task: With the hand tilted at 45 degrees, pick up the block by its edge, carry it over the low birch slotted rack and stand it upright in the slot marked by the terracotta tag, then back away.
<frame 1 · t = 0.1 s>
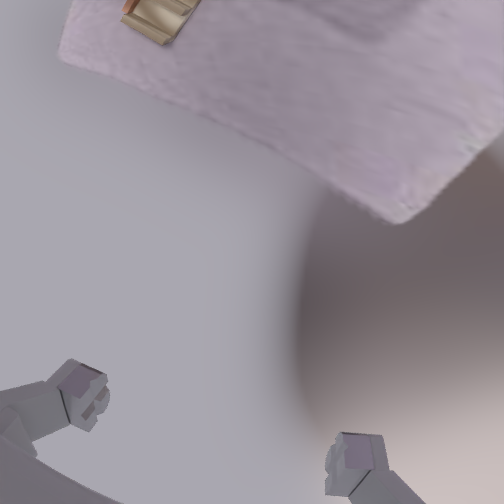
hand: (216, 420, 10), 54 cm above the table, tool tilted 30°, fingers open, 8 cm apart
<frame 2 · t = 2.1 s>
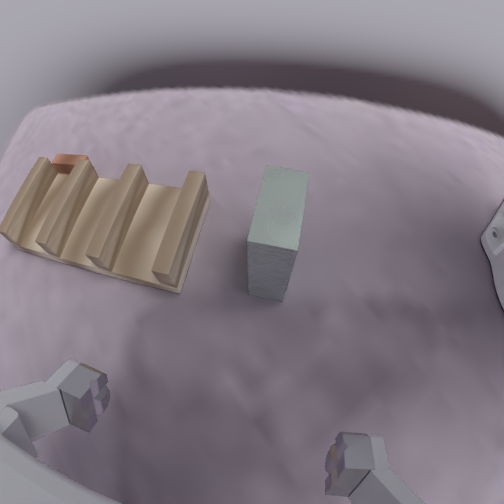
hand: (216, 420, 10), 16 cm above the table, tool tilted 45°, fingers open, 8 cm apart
block: (272, 267, 29), on the table
rack: (103, 226, 31), on the table
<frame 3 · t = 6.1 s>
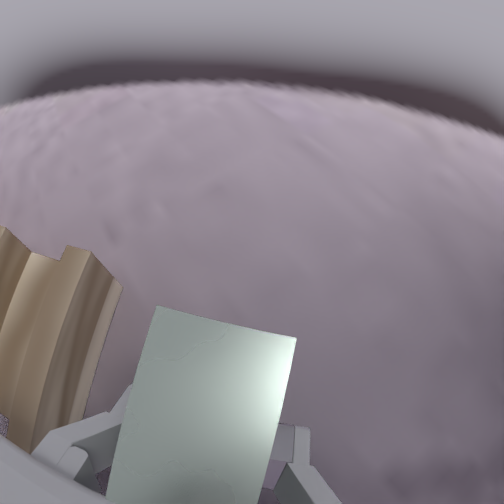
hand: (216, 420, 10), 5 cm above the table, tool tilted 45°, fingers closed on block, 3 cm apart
block: (223, 426, 14), on the table, touching gripper
when the fingers open (8 cm above the table, at t = 12.2 s): block drops 1 cm, resting on rack.
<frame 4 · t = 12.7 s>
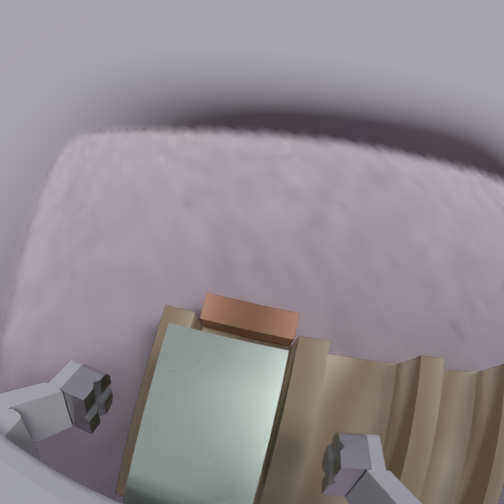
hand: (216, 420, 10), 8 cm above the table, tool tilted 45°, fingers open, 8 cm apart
block: (225, 425, 15), point 1 cm above the table, touching rack
rack: (335, 441, 16), on the table
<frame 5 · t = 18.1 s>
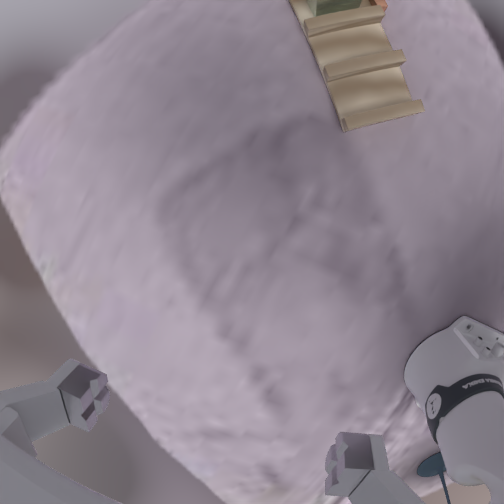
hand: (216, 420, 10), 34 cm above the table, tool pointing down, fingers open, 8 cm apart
cocktail glass: (437, 463, 53), on the table
block: (332, 5, 31), point 1 cm above the table, touching rack
rack: (350, 49, 34), on the table
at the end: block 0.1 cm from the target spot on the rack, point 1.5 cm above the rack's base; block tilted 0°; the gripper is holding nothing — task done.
